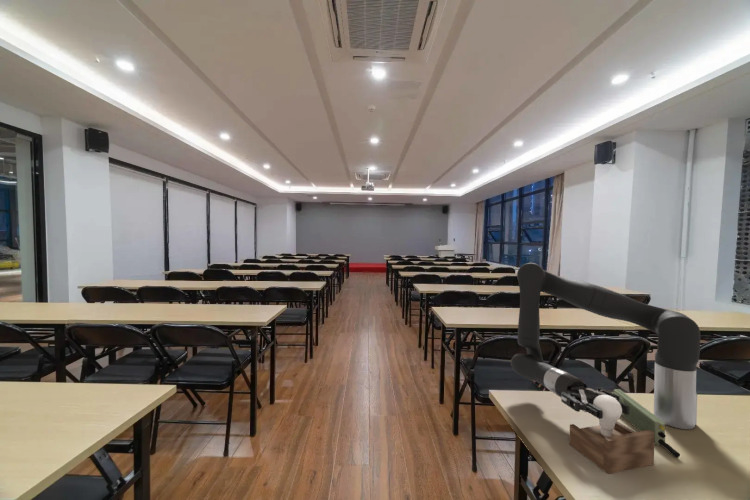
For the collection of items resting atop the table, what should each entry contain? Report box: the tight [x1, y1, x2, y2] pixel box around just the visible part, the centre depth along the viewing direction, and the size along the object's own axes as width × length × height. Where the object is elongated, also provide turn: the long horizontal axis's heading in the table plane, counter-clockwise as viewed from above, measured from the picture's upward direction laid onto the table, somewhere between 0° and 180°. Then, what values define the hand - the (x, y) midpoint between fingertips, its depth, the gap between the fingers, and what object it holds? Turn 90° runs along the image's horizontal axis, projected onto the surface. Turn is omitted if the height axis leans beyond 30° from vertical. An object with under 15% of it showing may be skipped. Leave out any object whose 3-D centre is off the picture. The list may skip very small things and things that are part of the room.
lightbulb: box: [593, 395, 622, 437], centre depth 83 cm, size 6×6×11 cm
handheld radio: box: [612, 388, 681, 458], centre depth 93 cm, size 7×3×25 cm
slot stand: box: [569, 420, 655, 475], centre depth 83 cm, size 14×11×8 cm
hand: (615, 413), depth 81 cm, fingers open, 8 cm apart
